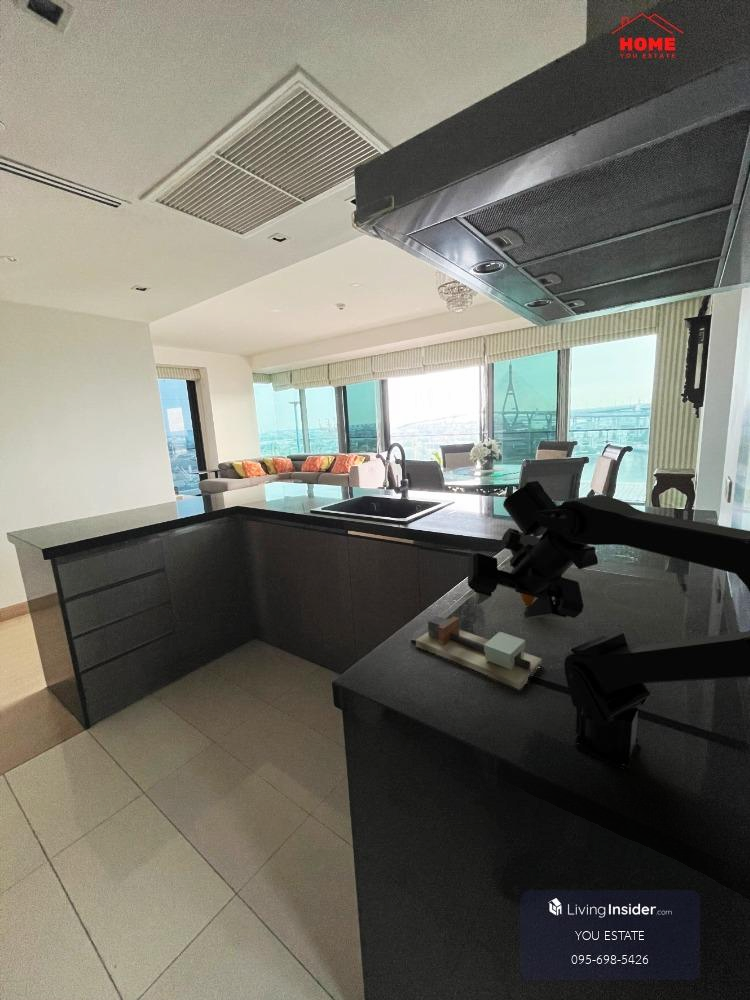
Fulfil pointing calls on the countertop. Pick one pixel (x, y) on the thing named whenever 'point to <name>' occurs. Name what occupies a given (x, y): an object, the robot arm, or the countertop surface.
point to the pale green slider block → (504, 650)
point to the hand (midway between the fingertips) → (501, 608)
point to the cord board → (472, 652)
